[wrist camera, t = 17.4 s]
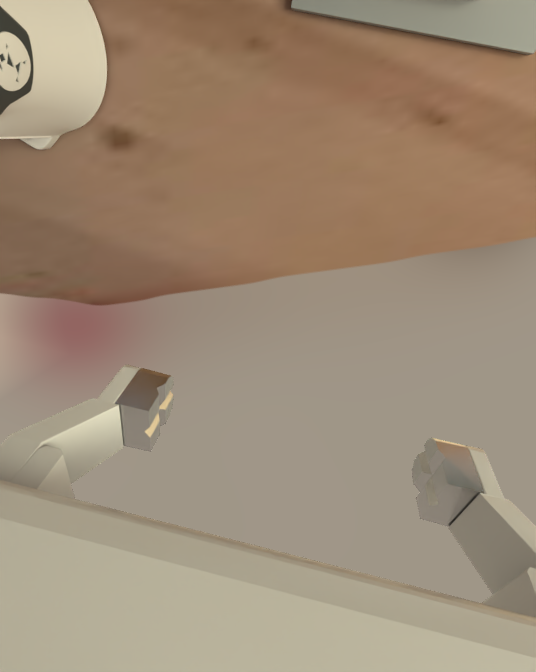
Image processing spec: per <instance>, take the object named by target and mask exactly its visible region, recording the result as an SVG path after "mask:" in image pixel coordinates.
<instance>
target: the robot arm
mask: <svg viewBox="0 0 536 672" xmlns="http://www.w3.org/2000/svg"><path fill="white" fill-rule="evenodd" d="M106 80H107V60H106V52H105V46H104V41H103V37H102V33H101V30H100V27H99V24H98V21H97V19H96V16H95V14H94V12H93V9H92V7H91V5H90V3H89V1H88V0H0V139H21V140H22V141H24V142H25V143H27V144H29V145H30V146H32V147H33V148H35V149H39V150H46V149H49V148H50V147H52V146H53V145H54V143H55V142H56V141H57V140H58V138H59V137H60V135H62V134H64V133H66V132H69V131H72V130H75V129H78V128H80V127H82V126H83V125H85V124H86V123H87V122H88V121H90V120H91V118H92V117H93V116H94V115H95V113H96V112H97V110H98V108H99V106H100V104H101V102H102V99H103V96H104V92H105V87H106ZM172 387H173V377H172V376H170V375H166V374H163V373H159V372H155V371H151V370H147V369H144V368H139V367H135V366H131V365H125V366H123V367H122V368H121V369H120V371H119V372H118V373H117V374H116V376H115V377H114V378H113V379H112V381H111V382H110V383H109V384H108V386H107V387H106V388H105V390H104V391H103V392H102V393H101V395H100V396H99V397H98V399H90V400H87V401H85V402H83V403H81V404H78V405H76V406H74V407H72V408H70V409H67V410H65V411H63V412H60V413H58V414H56V415H54V416H51V417H49V418H47V419H45V420H43V421H40V422H38V423H36V424H33V425H31V426H29V427H27V428H25V429H22V430H20V431H18V432H16V433H13V434H11V435H9V436H8V437H7V438H6V440H5V441H4V442H3V443H2V444H1V445H0V672H536V527H535V525H533V524H532V522H531V521H530V520H529V519H528V518H527V517H526V516H525V515H524V514H523V513H522V512H521V511H520V510H519V509H518V508H517V507H516V506H515V505H514V504H513V503H512V502H511V501H510V500H507V499H504V497H503V494H502V492H501V490H500V487H499V485H498V482H497V480H496V478H495V475H494V473H493V470H492V468H491V465H490V463H489V460H488V458H487V455H486V453H485V452H484V451H483V450H482V449H479V448H474V447H470V446H465V445H462V444H457V443H453V442H448V441H444V440H440V439H435V438H430V439H429V440H427V442H426V443H425V445H424V446H425V452H422V453H420V454H418V456H417V457H416V459H415V461H414V464H413V469H412V477H413V483H414V485H415V486H416V488H417V489H418V490H419V492H420V493H419V494H418V496H417V497H416V500H417V504H418V510H419V515H420V519H423V520H427V521H431V522H434V523H438V524H441V525H445V526H449V530H450V531H451V533H452V534H453V536H454V537H455V539H456V540H457V542H458V543H459V545H460V546H461V548H462V549H463V551H464V552H465V553H466V555H467V557H468V558H469V560H470V561H471V563H472V564H473V566H474V567H475V569H476V570H477V572H478V573H479V575H480V576H481V578H482V579H483V580H484V582H485V584H486V585H487V587H488V588H489V590H490V591H491V593H492V594H493V595H492V596H491V597H489V598H488V599H486V600H485V601H484V602H482V603H478V602H474V601H470V600H466V599H462V598H458V597H455V596H451V595H447V594H443V593H439V592H435V591H431V590H427V589H423V588H420V587H416V586H412V585H408V584H404V583H400V582H396V581H392V580H388V579H385V578H380V577H377V576H373V575H369V574H365V573H361V572H357V571H353V570H349V569H346V568H342V567H338V566H334V565H330V564H326V563H322V562H318V561H314V560H310V559H307V558H303V557H298V556H295V555H291V554H287V553H283V552H279V551H275V550H271V549H267V548H264V547H260V546H256V545H252V544H248V543H244V542H240V541H236V540H232V539H228V538H224V537H220V536H217V535H213V534H209V533H204V532H201V531H197V530H193V529H189V528H186V527H181V526H178V525H174V524H170V523H166V522H162V521H158V520H154V519H151V518H146V517H143V516H139V515H135V514H131V513H127V512H123V511H119V510H115V509H111V508H107V507H103V506H100V505H96V504H92V503H88V502H84V501H80V500H77V499H75V497H74V493H73V489H72V486H71V484H72V483H73V482H74V481H76V480H77V479H79V478H80V477H82V476H83V475H84V474H86V473H87V472H89V471H90V470H92V469H93V468H94V467H96V466H97V465H99V464H100V463H102V462H103V461H105V460H106V459H108V458H109V457H110V456H112V455H113V454H115V453H116V452H118V451H119V450H120V449H122V448H123V447H124V446H127V447H132V448H137V449H141V450H146V451H151V450H152V448H153V446H154V444H155V443H156V441H157V439H158V437H159V435H160V426H162V425H164V424H165V423H166V422H167V420H168V418H169V415H170V412H171V409H172V405H173V394H172V393H171V391H170V390H171V389H172Z"/></svg>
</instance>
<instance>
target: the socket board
mask: <svg viewBox="0 0 536 672" xmlns="http://www.w3.org/2000/svg"><path fill="white" fill-rule="evenodd" d="M291 8H292V10H295V11H300V12H305V13H311V14H316V15H321V16H326V17H332V18H337V19H342V20H348V21H353V22H358V23H363V24H369V25H374V26H379V27H384V28H390V29H395V30H400V31H405V32H411V33H416V34H421V35H426V36H432V37H437V38H442V39H448V40H453V41H458V42H463V43H469V44H474V45H479V46H484V47H490V48H495V49H500V50H505V51H511V52H516V53H521V54H527V55H530V54H534V52H535V50H536V0H292V4H291Z"/></svg>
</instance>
